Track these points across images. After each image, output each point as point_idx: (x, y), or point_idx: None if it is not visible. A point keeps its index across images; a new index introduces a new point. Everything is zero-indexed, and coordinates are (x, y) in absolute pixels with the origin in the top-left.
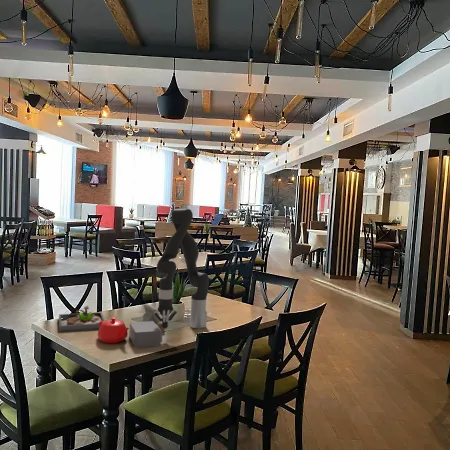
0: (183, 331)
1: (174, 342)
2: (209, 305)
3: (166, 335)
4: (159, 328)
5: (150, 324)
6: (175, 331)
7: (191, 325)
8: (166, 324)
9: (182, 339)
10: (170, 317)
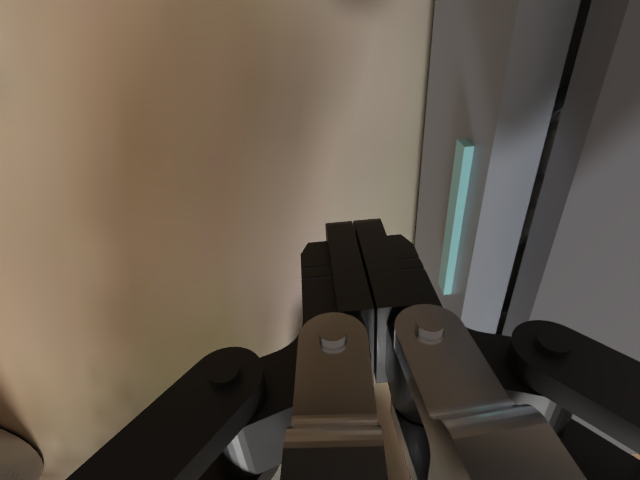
0: (94, 368)
1: (205, 8)
2: None
3: (283, 289)
4: (485, 204)
5: (616, 347)
6: (178, 374)
7: (13, 457)
8: (339, 268)
9: (82, 129)
10: (210, 449)
